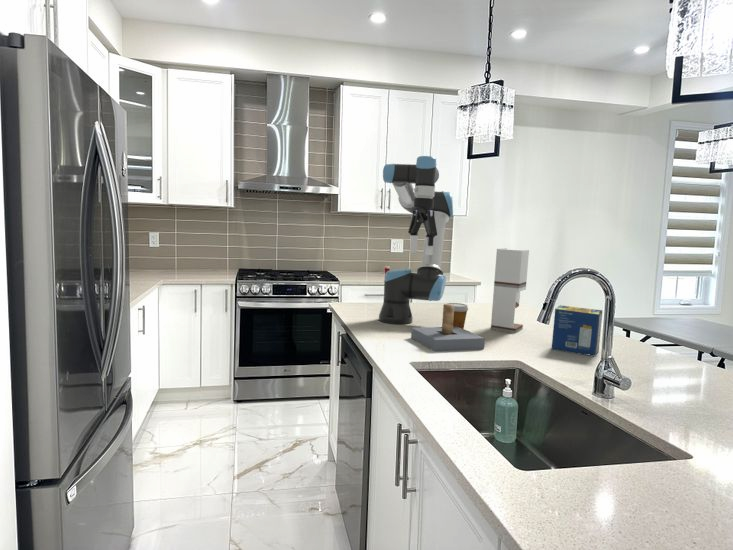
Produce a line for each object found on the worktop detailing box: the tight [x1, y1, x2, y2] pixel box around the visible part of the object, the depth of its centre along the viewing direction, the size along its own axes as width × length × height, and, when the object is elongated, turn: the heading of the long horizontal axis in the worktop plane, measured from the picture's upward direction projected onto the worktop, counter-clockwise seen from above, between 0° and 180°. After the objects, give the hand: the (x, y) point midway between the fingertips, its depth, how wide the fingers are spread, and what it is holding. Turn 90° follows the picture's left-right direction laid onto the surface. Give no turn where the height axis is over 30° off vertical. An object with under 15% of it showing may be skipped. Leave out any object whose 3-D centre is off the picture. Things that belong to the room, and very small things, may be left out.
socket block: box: [410, 326, 486, 352], centre depth 193 cm, size 20×20×4 cm
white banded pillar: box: [490, 247, 530, 334], centre depth 223 cm, size 11×11×35 cm
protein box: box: [550, 304, 603, 356], centre depth 192 cm, size 10×15×16 cm
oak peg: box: [441, 303, 454, 335], centre depth 193 cm, size 4×4×14 cm
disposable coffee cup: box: [446, 302, 469, 330], centre depth 211 cm, size 10×10×12 cm
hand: (420, 253), depth 199 cm, fingers open, 13 cm apart
